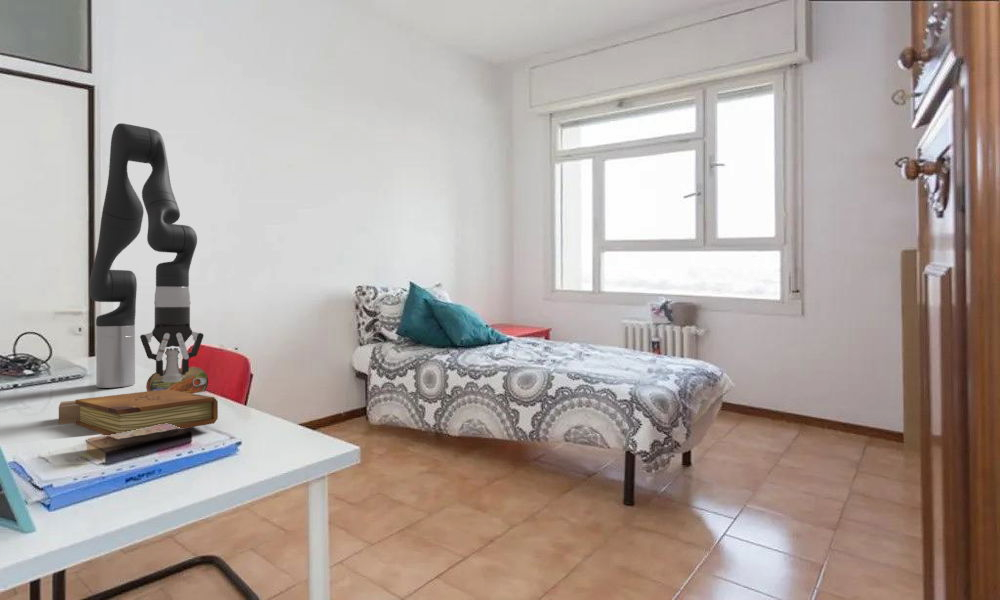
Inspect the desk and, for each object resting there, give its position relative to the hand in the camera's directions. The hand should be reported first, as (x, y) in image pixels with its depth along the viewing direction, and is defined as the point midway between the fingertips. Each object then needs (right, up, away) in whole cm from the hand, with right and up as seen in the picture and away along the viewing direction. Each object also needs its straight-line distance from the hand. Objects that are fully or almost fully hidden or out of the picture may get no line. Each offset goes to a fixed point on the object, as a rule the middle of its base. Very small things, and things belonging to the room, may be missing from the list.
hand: (172, 374), depth 139 cm
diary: (+5, -8, -19) cm, 21 cm away
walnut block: (-12, -8, -14) cm, 20 cm away
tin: (-6, -8, +12) cm, 16 cm away
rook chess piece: (0, -2, 0) cm, 2 cm away
